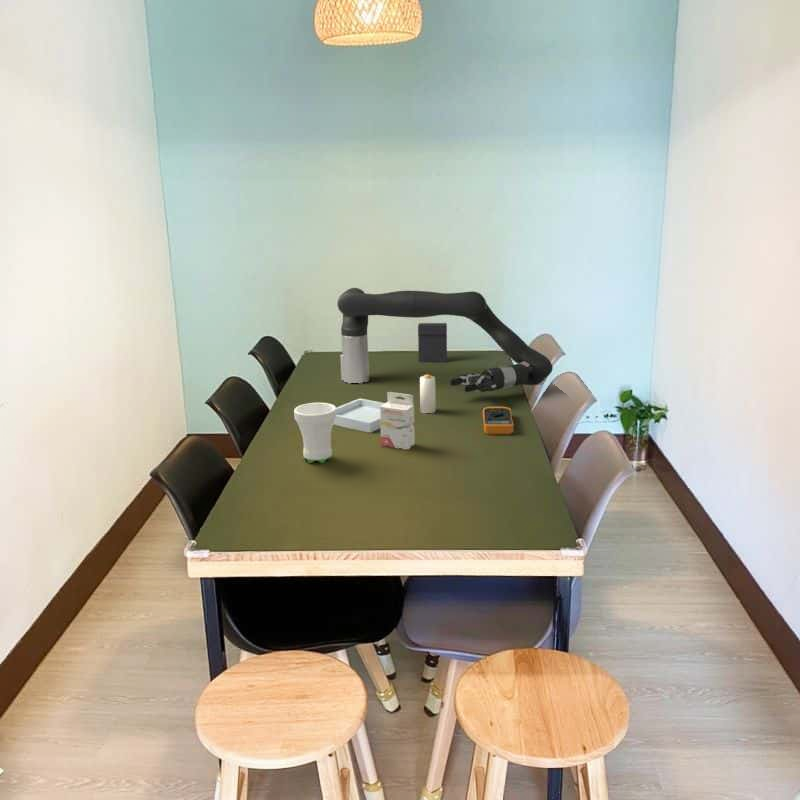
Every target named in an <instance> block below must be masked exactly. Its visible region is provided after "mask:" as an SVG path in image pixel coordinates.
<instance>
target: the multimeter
mask: <svg viewBox="0 0 800 800" xmlns="http://www.w3.org/2000/svg"><path fill="white" fill-rule="evenodd" d="M512 417H513V416H512V409H511V408H510V407H507V406H486V407H484V408H483V409H482V418H483V433H484V434H485V435H512V434H513V433H514V429H515V428H514V427H515V424H514V421H513V418H512ZM511 433H512V434H511Z"/></svg>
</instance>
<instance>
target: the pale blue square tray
mask: <svg viewBox="0 0 800 800" xmlns="http://www.w3.org/2000/svg"><path fill="white" fill-rule="evenodd" d="M385 403H386V402H381V401H374V400H370V399H365V398H358V399H355V400H351V401H350V402H347V403H344V404H341V405H340V406H338V407H337V406H336V418H335V420H334V423H333V426H338V427H342V428H346V429H351V430H354V431H355V430H356V431H361V432H363V433H364V432H366V433H368V432H369V433H368V434H370V433H373V432H375V431H377V430H380V429H381V425H380V406H382V405H383V404H385Z"/></svg>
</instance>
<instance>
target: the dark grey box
mask: <svg viewBox="0 0 800 800" xmlns="http://www.w3.org/2000/svg"><path fill="white" fill-rule="evenodd" d="M447 329H448V325H447V323H446V322H436V323H435V322H424V323H423V322H419V323H418V325H417V336H418V338H417V339H418V340H417V341H418V347H417V348H418V362H419V363H446V362H447V361H448V347H447V346H448V342H447V341H448V335H447V334H448V331H447Z"/></svg>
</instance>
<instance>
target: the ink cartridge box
mask: <svg viewBox="0 0 800 800" xmlns="http://www.w3.org/2000/svg"><path fill="white" fill-rule="evenodd" d="M386 397H387V401H386V402H384V403H385V404H383V405H382V406H380V425H381V428H380V446H381V447H386V446H389V447H388V448H393V447H394V449H399V448H402V449H401V450H406V449H408V450H410V448H412V447H413V446H414V445H415V444H416V443H415V405H414V395H412V394H407V393H400V392H392V391H387V393H386ZM399 397H401V399H400V398H399ZM403 398H404V399H403ZM411 446H412V447H411Z"/></svg>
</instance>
